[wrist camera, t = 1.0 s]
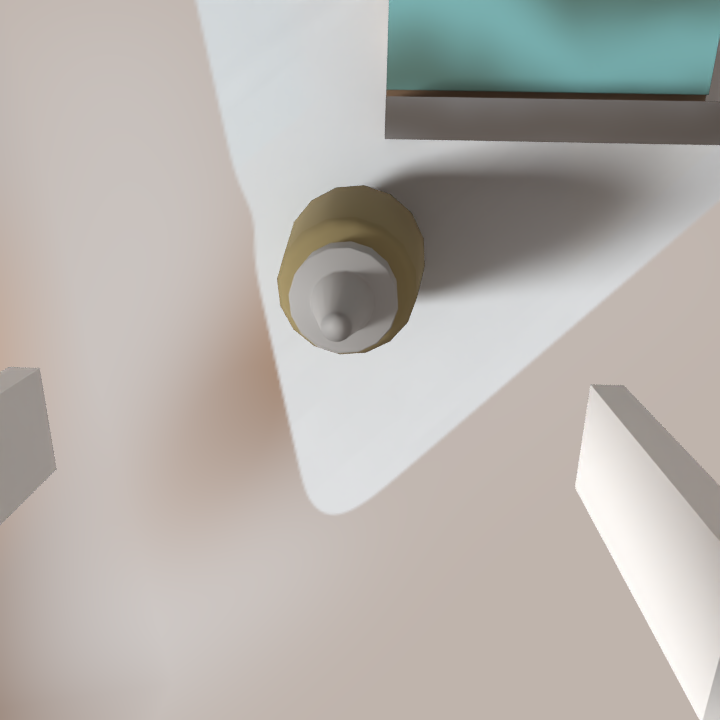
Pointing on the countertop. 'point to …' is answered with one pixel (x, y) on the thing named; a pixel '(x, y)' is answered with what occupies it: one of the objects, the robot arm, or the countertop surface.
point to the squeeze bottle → (351, 270)
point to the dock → (553, 71)
